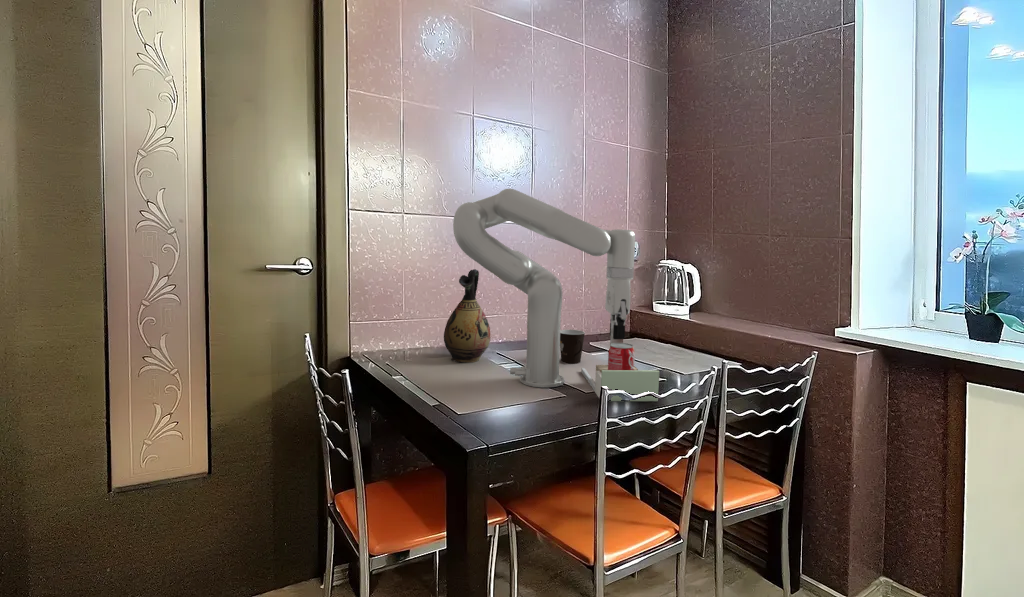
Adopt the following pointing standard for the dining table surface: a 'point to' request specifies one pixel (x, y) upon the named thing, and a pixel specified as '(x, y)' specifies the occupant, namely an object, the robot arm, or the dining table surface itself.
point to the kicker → (612, 340)
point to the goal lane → (626, 382)
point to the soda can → (621, 356)
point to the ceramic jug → (467, 325)
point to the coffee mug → (571, 346)
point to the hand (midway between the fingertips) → (616, 336)
